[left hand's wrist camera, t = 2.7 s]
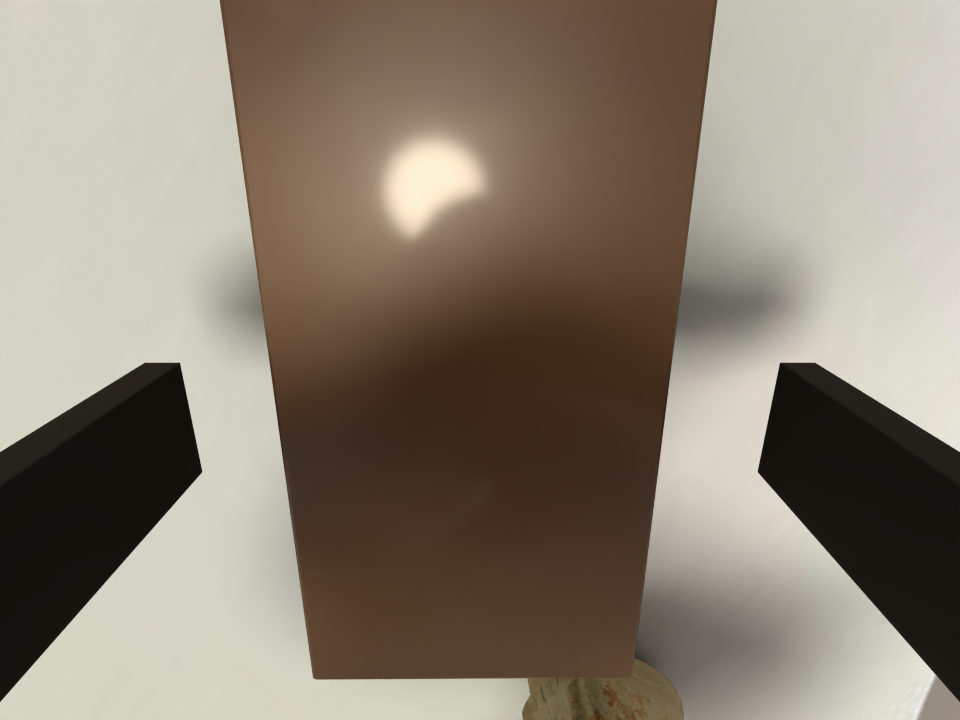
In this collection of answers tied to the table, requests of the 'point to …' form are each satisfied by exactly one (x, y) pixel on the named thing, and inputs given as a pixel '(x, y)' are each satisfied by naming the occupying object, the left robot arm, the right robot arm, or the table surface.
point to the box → (470, 314)
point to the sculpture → (605, 697)
